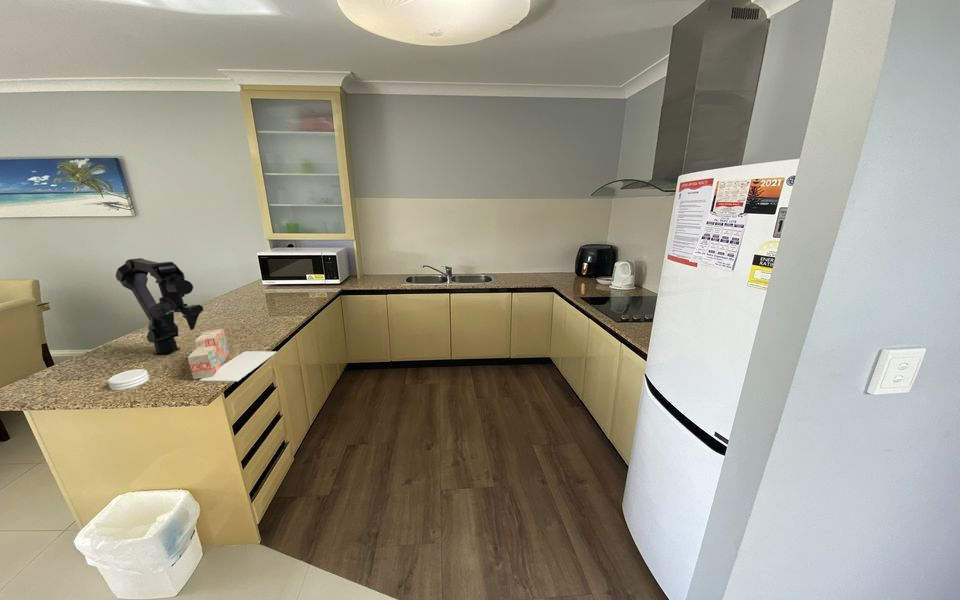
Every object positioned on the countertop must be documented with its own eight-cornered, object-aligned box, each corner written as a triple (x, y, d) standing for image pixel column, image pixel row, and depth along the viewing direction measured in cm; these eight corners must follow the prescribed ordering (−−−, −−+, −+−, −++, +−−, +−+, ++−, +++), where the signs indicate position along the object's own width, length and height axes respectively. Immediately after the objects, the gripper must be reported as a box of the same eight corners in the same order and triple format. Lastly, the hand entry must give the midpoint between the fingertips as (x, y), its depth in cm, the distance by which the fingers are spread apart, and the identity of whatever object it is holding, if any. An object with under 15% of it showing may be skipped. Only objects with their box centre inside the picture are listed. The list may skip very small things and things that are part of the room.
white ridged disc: (142, 374, 124) (139, 366, 123) (155, 380, 120) (152, 372, 119) (105, 386, 115) (102, 378, 114) (117, 393, 111) (114, 385, 110)
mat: (199, 381, 120) (198, 380, 119) (244, 352, 144) (244, 351, 143) (237, 381, 120) (237, 380, 120) (276, 352, 144) (276, 351, 144)
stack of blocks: (213, 376, 122) (205, 346, 119) (193, 380, 120) (184, 349, 116) (230, 353, 141) (223, 327, 138) (212, 356, 139) (205, 330, 135)
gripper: (127, 299, 122) (141, 337, 126) (171, 297, 121) (183, 336, 125) (158, 292, 133) (169, 327, 137) (199, 291, 131) (209, 326, 135)
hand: (182, 329), depth 133 cm, fingers open, 9 cm apart
